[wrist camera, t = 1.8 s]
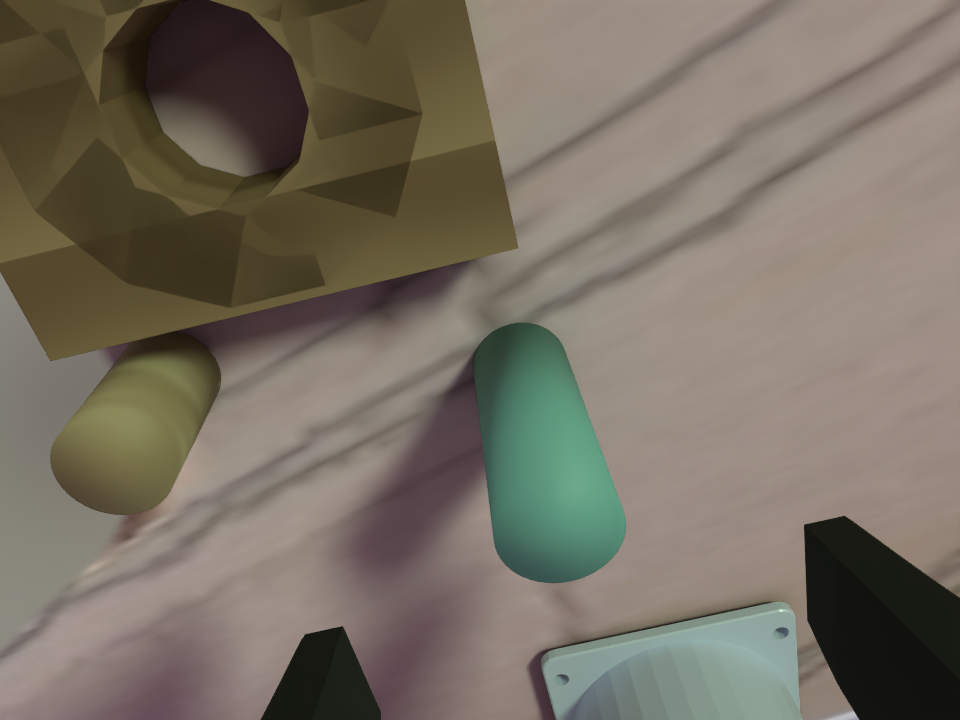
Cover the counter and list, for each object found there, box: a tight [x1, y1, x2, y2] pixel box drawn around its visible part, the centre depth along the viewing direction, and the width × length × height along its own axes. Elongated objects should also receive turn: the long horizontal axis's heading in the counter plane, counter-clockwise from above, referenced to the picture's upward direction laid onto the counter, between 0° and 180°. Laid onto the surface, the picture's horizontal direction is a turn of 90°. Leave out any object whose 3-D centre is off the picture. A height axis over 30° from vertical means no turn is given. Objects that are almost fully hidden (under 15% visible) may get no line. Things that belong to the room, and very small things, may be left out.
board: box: [0, 0, 518, 361], centre depth 15 cm, size 8×10×2 cm
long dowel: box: [473, 323, 626, 583], centre depth 17 cm, size 2×2×6 cm
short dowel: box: [50, 331, 221, 515], centre depth 17 cm, size 2×2×4 cm
